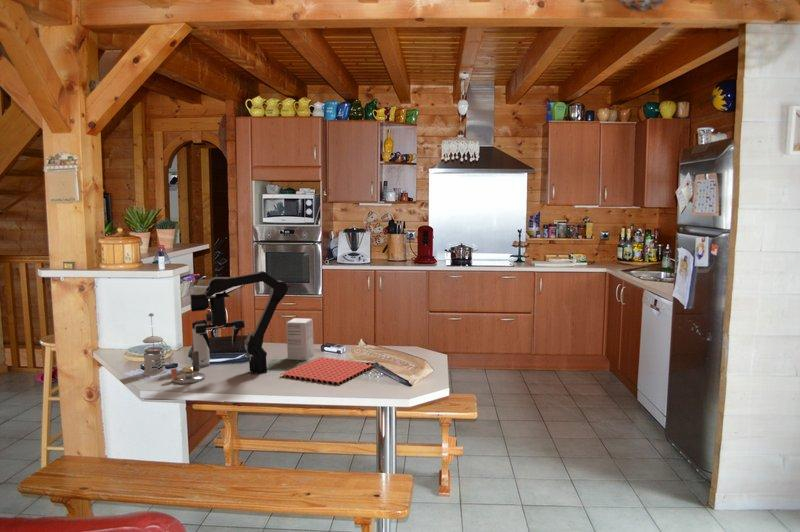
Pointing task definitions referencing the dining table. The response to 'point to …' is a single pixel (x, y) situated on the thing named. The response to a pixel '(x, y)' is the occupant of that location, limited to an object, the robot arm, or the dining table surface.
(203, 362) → the travel mug
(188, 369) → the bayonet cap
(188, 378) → the post base
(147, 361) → the french press
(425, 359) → the dining table surface
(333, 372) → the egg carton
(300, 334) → the supplement box
